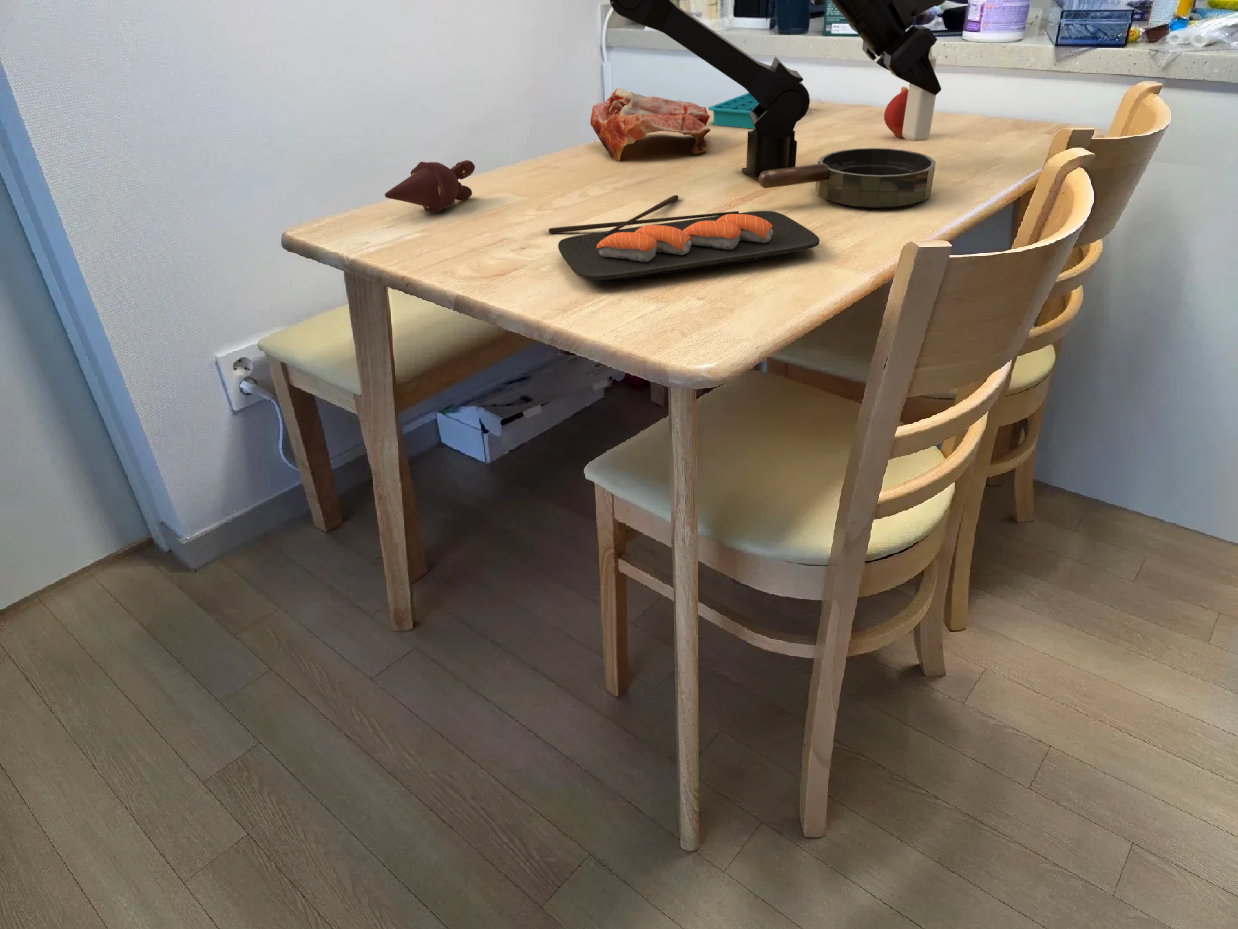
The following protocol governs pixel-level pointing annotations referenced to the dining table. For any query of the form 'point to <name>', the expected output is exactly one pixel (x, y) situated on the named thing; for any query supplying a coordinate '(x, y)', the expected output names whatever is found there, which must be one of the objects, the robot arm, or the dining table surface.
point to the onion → (896, 112)
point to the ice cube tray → (735, 112)
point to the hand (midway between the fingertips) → (932, 88)
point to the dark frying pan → (876, 177)
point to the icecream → (434, 185)
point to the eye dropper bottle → (919, 111)
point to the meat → (646, 120)
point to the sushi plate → (680, 243)
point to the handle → (793, 175)
